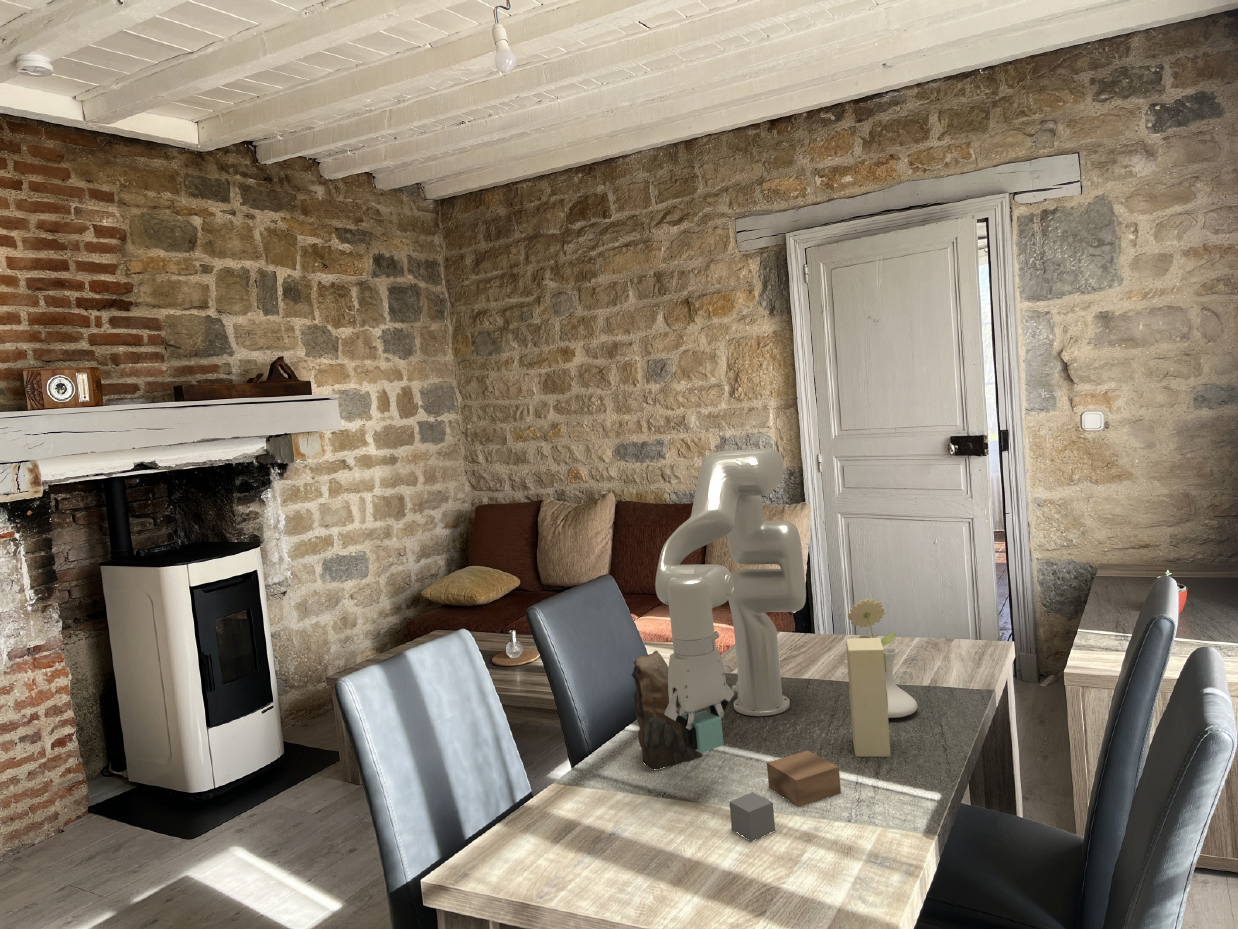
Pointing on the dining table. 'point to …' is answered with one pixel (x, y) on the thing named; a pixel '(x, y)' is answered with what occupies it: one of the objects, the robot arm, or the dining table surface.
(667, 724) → the brown rock
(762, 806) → the grey cube
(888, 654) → the flower in vase
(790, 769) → the walnut block
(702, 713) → the teal cube
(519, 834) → the dining table surface
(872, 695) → the tall cream block
